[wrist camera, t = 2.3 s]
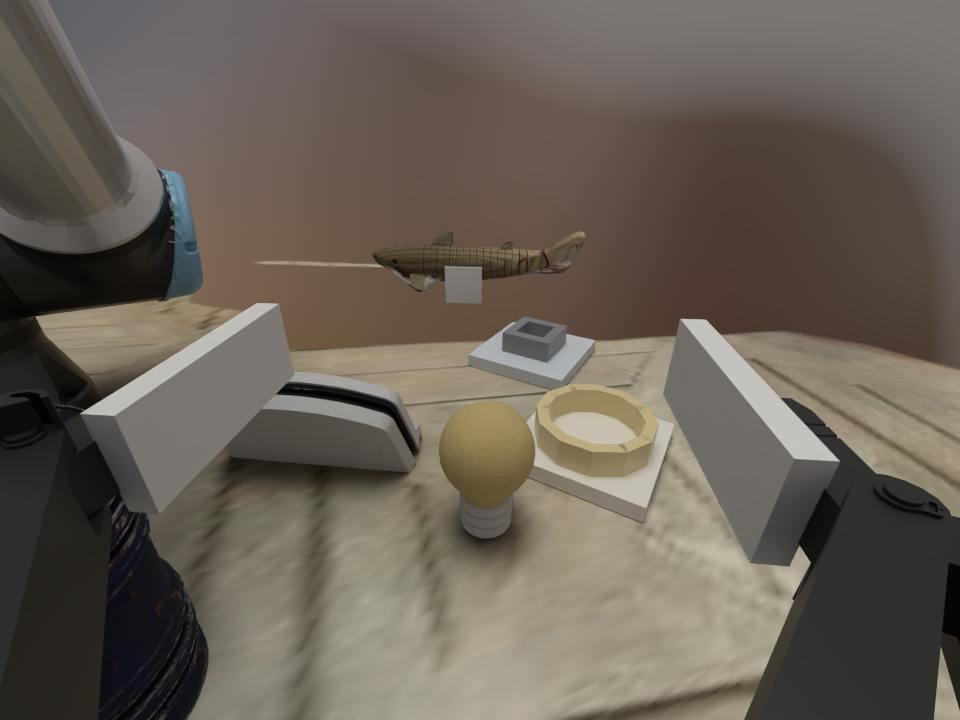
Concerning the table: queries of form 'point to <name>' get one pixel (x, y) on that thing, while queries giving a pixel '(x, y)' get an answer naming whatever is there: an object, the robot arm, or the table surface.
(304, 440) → the white curved block
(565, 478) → the round socket
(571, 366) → the square socket
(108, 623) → the storage jar
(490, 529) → the light bulb
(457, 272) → the wood carving
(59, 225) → the robot arm
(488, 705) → the table surface
